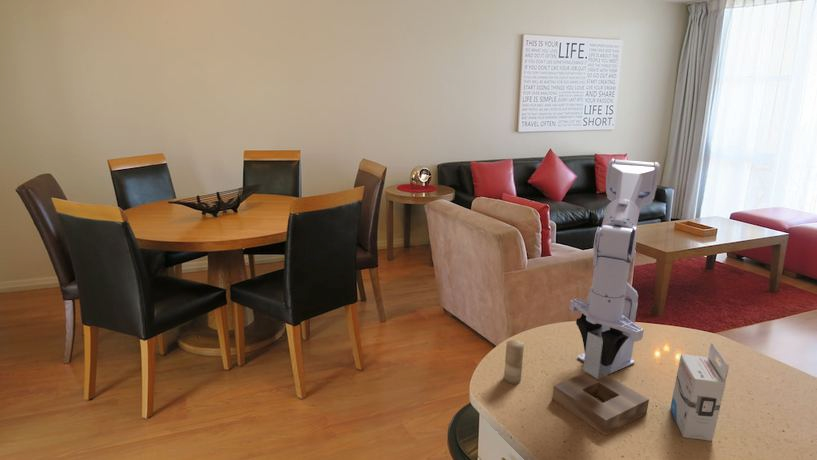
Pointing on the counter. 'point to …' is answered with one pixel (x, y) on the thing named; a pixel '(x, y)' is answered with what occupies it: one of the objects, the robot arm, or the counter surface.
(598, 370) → the square bit
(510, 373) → the round dowel
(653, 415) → the counter surface
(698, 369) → the ink box
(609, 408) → the bore block
